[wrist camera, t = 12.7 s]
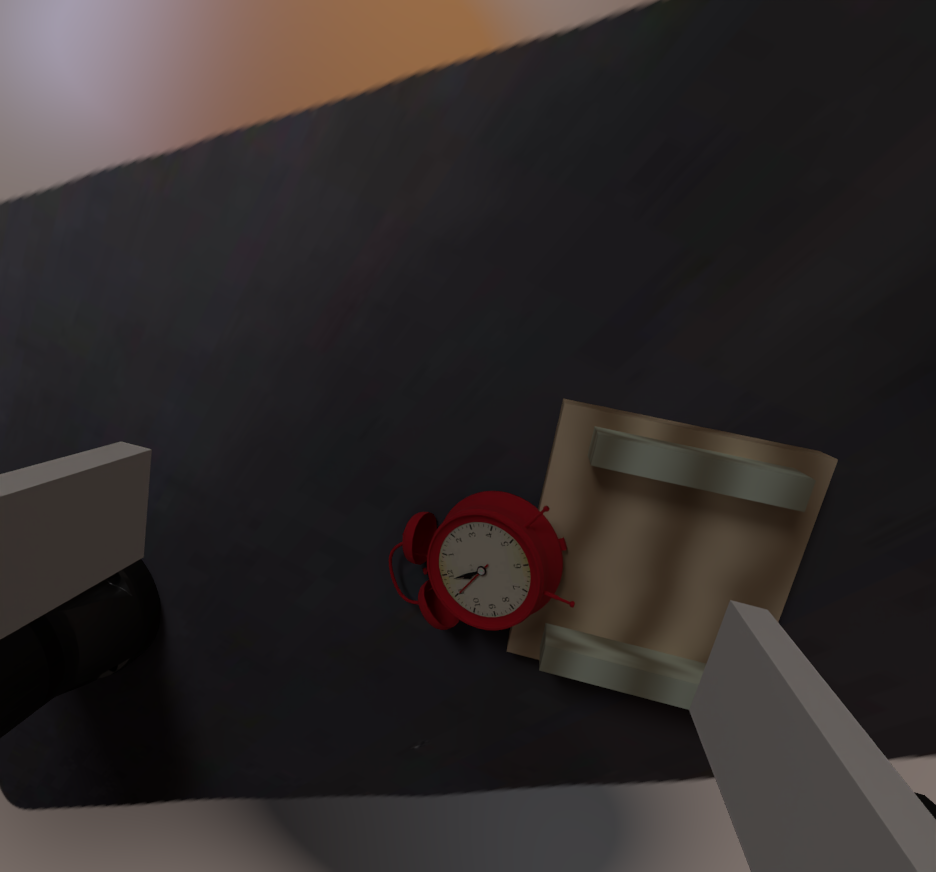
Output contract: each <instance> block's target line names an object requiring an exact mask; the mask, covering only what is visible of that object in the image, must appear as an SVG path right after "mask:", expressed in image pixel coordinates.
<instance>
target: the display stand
mask: <svg viewBox="0 0 936 872" xmlns="http://www.w3.org/2000/svg"><path fill="white" fill-rule="evenodd" d="M837 461H838V460H837V459H835V458H833V457H831V456H829V455H827V454H824V453H822V452H820V451H816V450H811V449H806V448H801V447H796V446H791V445H786V444H782V443H777V442H772V441H767V440H762V439H757V438H752V437H748V436H743V435H738V434H733V433H728V432H723V431H718V430H713V429H709V428H704V427H699V426H694V425H689V424H684V423H679V422H675V421H670V420H665V419H660V418H655V417H650V416H645V415H641V414H636V413H631V412H626V411H621V410H616V409H611V408H606V407H602V406H597V405H592V404H587V403H582V402H577V401H572V400H568V399H563V403H562V407H561V411H560V416H559V420H558V424H557V429H556V433H555V437H554V441H553V446H552V450H551V454H550V459H549V463H548V467H547V472H546V476H545V480H544V485H543V489H542V493H541V498H540V502H539V506H538V510H539V511H540V512H541V511H542V510H543V507H544V506H548V507H549V508H550V509H549V511H548V512H544V513H543V515H544V516H545V517H546V518H547V519H548V521H549V522H550V524H551V525H552V527H553V529H554V530H555V532H556V534H557V537H558V539H560V538H563V537H564V539H565V542H566V546H567V549H566V550H563V551H562V555H563V571H562V577H561V580H560V583H559V586H558V588H557V590H556V592H555V595H557V596H559V597H560V598H563V599H565V600H567V601H569V602H571V601H574V602H575V605H574V607H573V608H572V607H570V605H569V604H566V603H564V602H562V601H559V600H555V599H553V598H551V599H550V601H549V602H548V603H547V604H546V605H545V606H544V607H543V608H541V609H540V610H539V611H537V612H535V613H533V614H531V615H530V616H529V617H528V618H526V619H525V620H524V621H523V622H521V623H519V624H517V625H515V626H512V627H510V631H509V637H508V645H507V652H511V653H515V654H518V655H522V656H526V657H530V658H534V659H538V660H539V670H540V671H543V672H547V673H551V674H555V675H559V676H562V677H566V678H570V679H574V680H578V681H581V682H585V683H589V684H593V685H597V686H600V687H604V688H608V689H612V690H616V691H619V692H623V693H627V694H631V695H635V696H638V697H642V698H646V699H650V700H654V701H657V702H661V703H665V704H669V705H673V706H676V707H680V708H684V709H688V710H689V709H690V707H691V704H692V701H693V699H694V696H695V693H696V691H697V688H698V685H699V683H700V680H701V677H702V674H703V672H704V669H705V666H706V664H707V661H708V658H709V656H710V653H711V650H712V647H713V645H714V642H715V639H716V637H717V634H718V631H719V629H720V626H721V623H722V621H723V618H724V615H725V612H726V610H727V607H728V604H729V602H730V600H732V601H736V602H740V603H744V604H747V605H751V606H755V607H759V608H763V609H767V610H768V611H769V612H770V613H771V614H772V616H773V617H774V618H775V619H776V621H777V622H778V621H779V619H780V616H781V613H782V611H783V608H784V605H785V602H786V600H787V597H788V594H789V592H790V589H791V586H792V583H793V581H794V578H795V575H796V573H797V570H798V567H799V564H800V562H801V559H802V556H803V553H804V551H805V548H806V545H807V543H808V540H809V537H810V534H811V532H812V529H813V526H814V524H815V521H816V518H817V515H818V513H819V510H820V507H821V504H822V502H823V499H824V496H825V494H826V491H827V488H828V485H829V483H830V480H831V477H832V475H833V472H834V469H835V466H836V464H837Z"/></svg>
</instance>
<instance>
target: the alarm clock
mask: <svg viewBox="0 0 936 872" xmlns="http://www.w3.org/2000/svg"><path fill="white" fill-rule="evenodd" d="M549 509H550V508H549V507H548V506H544V507H543V510H542V511H541V512H540V511H539V510H538V509H537V508H536V507H535V506H533V505H532V504H531V503H529V502H528V501H526V500H524V499H522V498H521V497H518V496H516V495H513V494H510V493H506V492H501V491H484V492H479V493H476V494H473V495H471V496H469V497H467V498H465V499H463V500H462V501H460V502H459V503H458V504H456V505H455V506H454V507H453V508H452V509H451V511H450V512H449V513H448V515H447V516H446V518H445V520H444V522H443V523H442V524H441V525H440V526H439V527H438V529H437V525H436V518H435V516H434V514H432V513H429V512H420V513H417V514H415V515H414V516H413V517H412V518H411V519H410V520H409V522H408V523H407V525H406V528H405V530H404V533H403V542H401V543H399V544H398V545H396V546H395V547H394V548H393V549H392V550H391V552H390V555H389V569H390V574H391V578H392V581H393V583H394V586H395V588H396V590H397V592H398V593H399V595H400V596H401V597H402V598H403V599H404V600H405V601H407V602H409V603H412V604H419V607H420V610H421V612H422V614H423V616H424V618H425V619H426V620H427V622H428V623H429V624H430V625H432V626H433V627H435V628H437V629H440V630H446V629H449V628H452V627H454V626H455V625H456V624H457V623H458V622H459V620H461V621H463V622H464V623H466V624H468V625H471V626H473V627H476V628H479V629H484V630H502V629H506V628H510V627H512V626H515V625H517V624H519V623H521V622H523V621H524V620H525V619H526V618H528V617H529V616H530V615H531V614H533V613H535V612H537V611H539V610H540V609H541V608H543V607H544V606H545V605H546V604H547V603H548V602H549V601H550V599H551V598H553V599H555V600H559V601H562V602H564V603H566V604H569V605H570V607H572V608H573V607H574V605H575V602H574V601H571V602H569V601H567V600H565V599H563V598H560V597H559V596H557V595H555V592H556V590H557V588H558V586H559V583H560V580H561V577H562V571H563V555H562V551H563V550H566V549H567V546H566V542H565V539H564V537H563V538H560V539H558V537H557V534H556V532H555V530H554V529H553V527H552V525H551V524H550V522H549V521H548V519H547V518H546V517H545V516H544V515H543V513H544V512H548V511H549ZM402 545H403V551H404V555H405V557H406V558H407V560H408V561H410V562H412V563H414V564H420V565H421V564H422V563H424V562H426V560H427V569H426V568H423V572H424V575H425V574H427V572H428V575H429V580H428V581H426V582H425V583H424V584H423V585H422V586H421V588H420V591H419V594H418V601H413V600H410V599H408V598H406V597H405V596H404V595H403V594H402V592H401V591H400V589H399V587H398V585H397V582H396V580H395V577H394V573H393V569H392V556H393V553H394V551H395V550H396V549H397V548H398V547H400V546H402Z"/></svg>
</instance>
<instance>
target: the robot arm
mask: <svg viewBox="0 0 936 872" xmlns="http://www.w3.org/2000/svg"><path fill="white" fill-rule="evenodd" d="M150 463H151V449H148V448H144V447H140V446H136V445H132V444H128V443H125V442H118V443H114V444H111V445H107V446H103V447H100V448H96V449H92V450H89V451H85V452H81V453H77V454H74V455H70V456H66V457H63V458H59V459H55V460H52V461H48V462H44V463H41V464H37V465H33V466H29V467H26V468H22V469H18V470H15V471H11V472H7V473H4V474H0V738H1V737H2V736H4V735H5V734H6V733H8V732H9V731H10V730H12V729H13V728H14V727H16V726H17V725H18V724H20V723H21V722H22V721H24V720H25V719H26V718H28V717H29V716H30V715H31V714H33V713H34V712H35V711H36V710H38V709H39V708H41V707H42V706H43V705H45V704H46V703H47V702H49V701H50V700H51V699H53V698H54V697H56V696H58V695H60V694H63V693H66V692H68V691H71V690H73V689H76V688H78V687H81V686H83V685H86V684H88V683H90V682H92V681H94V680H96V679H99V678H103V677H106V676H109V675H111V674H114V673H116V672H118V671H119V670H121V669H123V668H124V667H126V666H127V665H128V664H130V663H131V662H132V661H133V660H135V659H136V658H137V657H138V656H140V655H141V654H142V653H143V652H144V651H145V650H146V649H147V648H148V647H149V646H150V644H151V643H152V641H153V640H154V638H155V636H156V633H157V631H158V627H159V622H160V601H159V596H158V592H157V588H156V585H155V583H154V580H153V578H152V576H151V574H150V572H149V571H148V569H147V567H146V566H145V564H144V563H143V561H142V560H141V558H143V557H144V545H145V531H146V518H147V504H148V490H149V477H150ZM689 711H690V714H691V716H692V719H693V722H694V724H695V727H696V729H697V732H698V735H699V737H700V740H701V742H702V745H703V748H704V750H705V753H706V755H707V758H708V761H709V763H710V766H711V768H712V771H713V774H714V776H715V779H716V782H717V784H718V787H719V789H720V792H721V795H722V797H723V800H724V802H725V805H726V808H727V810H728V813H729V815H730V818H731V820H732V823H733V826H734V828H735V831H736V834H737V836H738V839H739V841H740V844H741V847H742V849H743V851H744V854H745V857H746V859H747V862H748V865H749V867H750V870H751V872H936V805H935V804H934V803H933V802H932V801H930V800H929V799H928V798H927V797H926V796H925V795H922V794H918V793H915V792H913V791H912V790H911V788H910V787H909V786H908V785H907V783H906V782H905V781H904V779H903V778H902V777H901V776H900V774H899V773H898V772H897V771H896V769H895V768H894V767H893V766H892V764H891V763H890V762H889V761H888V759H887V758H886V757H885V756H884V754H883V753H882V752H881V751H880V749H879V748H878V747H877V746H876V744H875V743H874V742H873V741H872V739H871V738H870V737H869V736H868V734H867V733H866V732H865V731H864V729H863V728H862V727H861V726H860V724H859V723H858V722H857V721H856V719H855V718H854V717H853V716H852V714H851V713H850V712H849V711H848V709H847V708H846V707H845V706H844V704H843V703H842V702H841V701H840V699H839V698H838V697H837V696H836V694H835V693H834V692H833V691H832V689H831V688H830V687H829V686H828V684H827V683H826V682H825V681H824V679H823V678H822V677H821V676H820V674H819V673H818V672H817V671H816V669H815V668H814V667H813V666H812V664H811V663H810V662H809V661H808V659H807V658H806V657H805V656H804V654H803V653H802V652H801V651H800V649H799V648H798V647H797V646H796V644H795V643H794V642H793V641H792V639H791V638H790V637H789V636H788V634H787V633H786V632H785V631H784V629H783V628H782V627H781V626H780V624H779V623H778V622H777V621H776V619H775V618H774V617H773V616H772V614H771V613H770V612H769V611H768V610H767V609H763V608H759V607H755V606H751V605H747V604H744V603H740V602H736V601H732V600H730V602H729V604H728V607H727V610H726V612H725V615H724V618H723V621H722V623H721V626H720V629H719V631H718V634H717V637H716V639H715V642H714V645H713V647H712V650H711V653H710V656H709V658H708V661H707V664H706V666H705V669H704V672H703V674H702V677H701V680H700V683H699V685H698V688H697V691H696V693H695V696H694V699H693V701H692V704H691V707H690V709H689Z"/></svg>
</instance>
